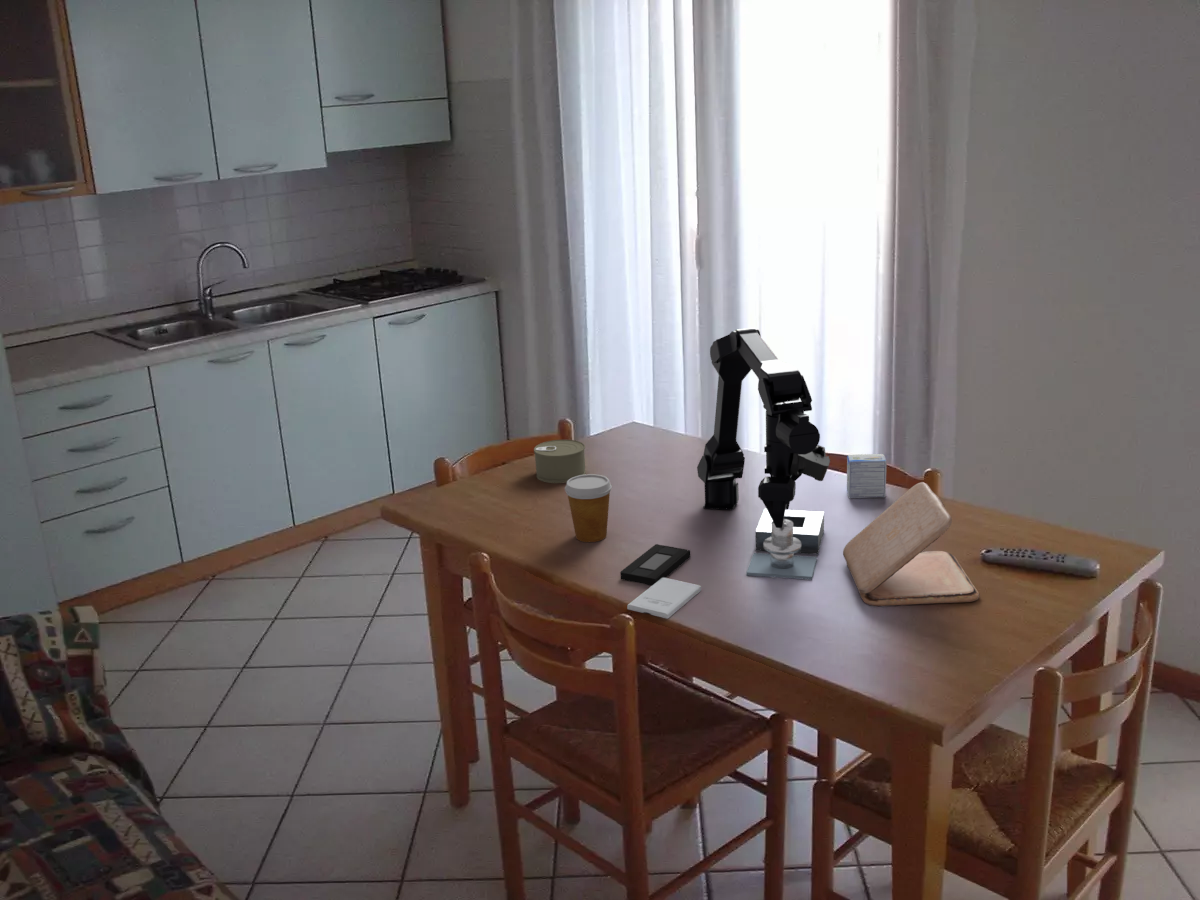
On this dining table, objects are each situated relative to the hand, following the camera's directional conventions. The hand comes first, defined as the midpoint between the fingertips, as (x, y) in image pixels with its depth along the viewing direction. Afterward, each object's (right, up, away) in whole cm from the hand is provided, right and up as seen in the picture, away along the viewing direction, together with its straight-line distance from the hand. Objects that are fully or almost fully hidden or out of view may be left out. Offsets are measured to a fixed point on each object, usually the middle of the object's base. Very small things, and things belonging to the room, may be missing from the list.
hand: (782, 518), depth 212 cm
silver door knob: (0, -9, +3) cm, 9 cm away
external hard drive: (-22, -15, -6) cm, 27 cm away
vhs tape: (-23, -11, +6) cm, 26 cm away
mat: (0, -9, +3) cm, 10 cm away
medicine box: (+24, +3, +36) cm, 43 cm away
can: (-43, +6, +59) cm, 73 cm away
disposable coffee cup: (-36, -5, +23) cm, 42 cm away
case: (+22, -11, -5) cm, 25 cm away
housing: (+4, -5, +15) cm, 17 cm away
